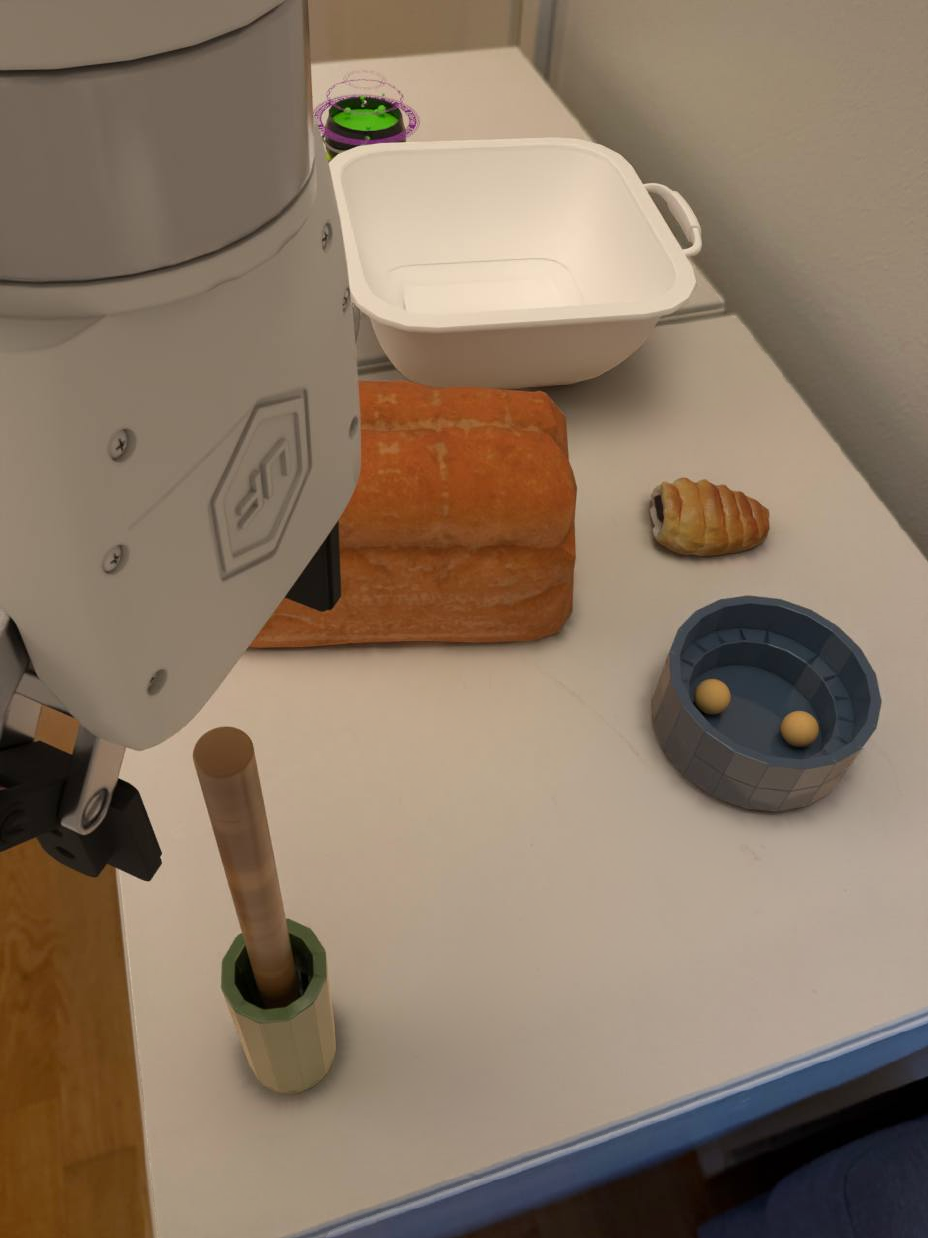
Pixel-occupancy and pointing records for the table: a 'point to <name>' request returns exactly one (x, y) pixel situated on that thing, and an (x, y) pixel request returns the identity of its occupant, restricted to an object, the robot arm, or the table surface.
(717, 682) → the chickpea
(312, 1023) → the utensil pot
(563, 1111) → the table surface
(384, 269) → the baking dish
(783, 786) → the bowl
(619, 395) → the table surface
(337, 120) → the toy cauldron
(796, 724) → the chickpea
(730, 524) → the pastry
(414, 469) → the bread
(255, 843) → the wooden dowel rod
